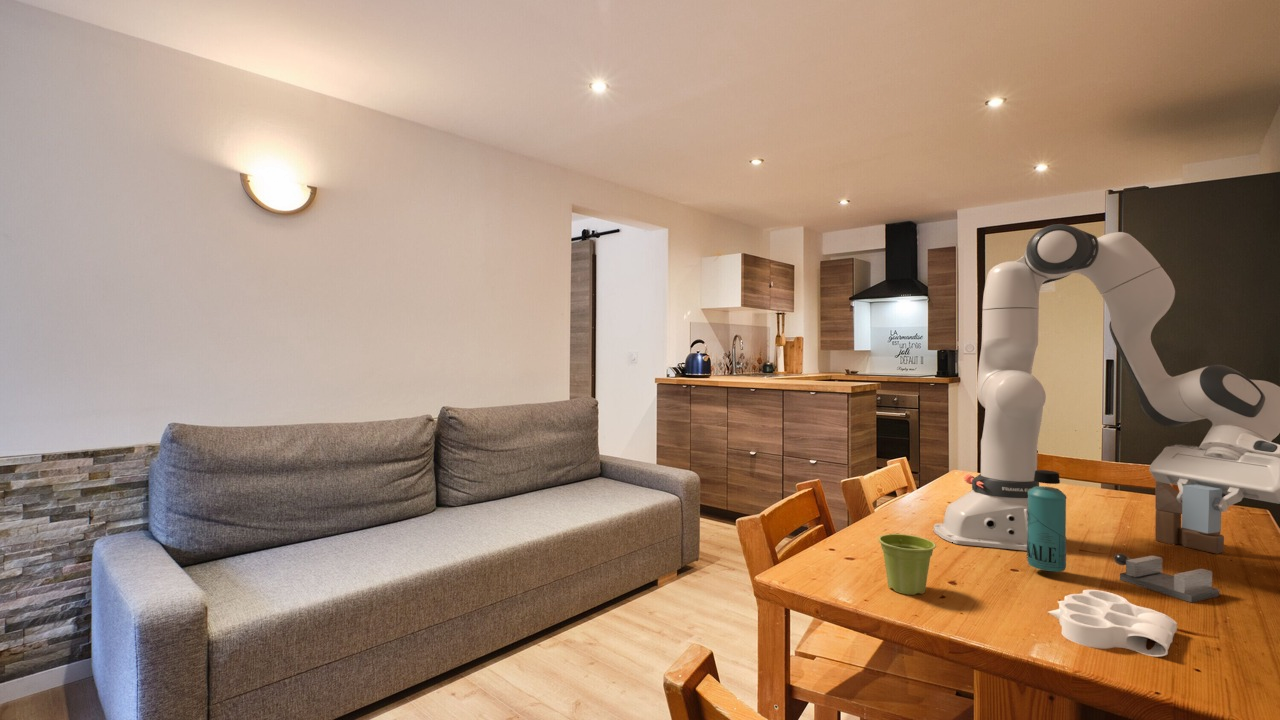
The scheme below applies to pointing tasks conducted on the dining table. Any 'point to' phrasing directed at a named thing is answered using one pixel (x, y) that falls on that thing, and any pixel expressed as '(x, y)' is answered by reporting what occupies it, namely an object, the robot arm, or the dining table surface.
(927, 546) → the plant pot
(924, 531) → the dining table surface
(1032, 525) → the beverage bottle
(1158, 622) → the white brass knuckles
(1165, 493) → the brown wooden angled piece
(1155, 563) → the free jaw
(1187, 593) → the vise
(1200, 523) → the steel block
